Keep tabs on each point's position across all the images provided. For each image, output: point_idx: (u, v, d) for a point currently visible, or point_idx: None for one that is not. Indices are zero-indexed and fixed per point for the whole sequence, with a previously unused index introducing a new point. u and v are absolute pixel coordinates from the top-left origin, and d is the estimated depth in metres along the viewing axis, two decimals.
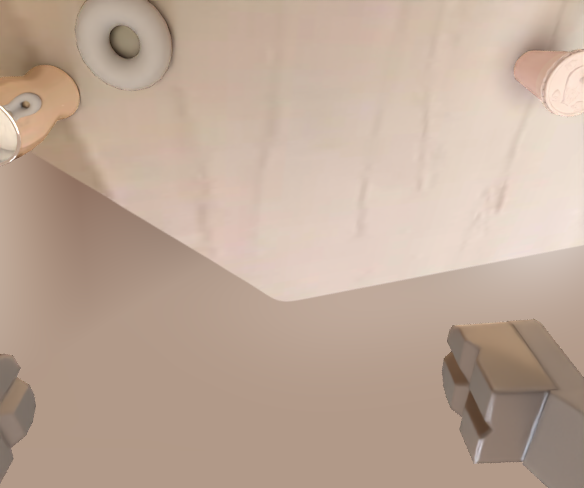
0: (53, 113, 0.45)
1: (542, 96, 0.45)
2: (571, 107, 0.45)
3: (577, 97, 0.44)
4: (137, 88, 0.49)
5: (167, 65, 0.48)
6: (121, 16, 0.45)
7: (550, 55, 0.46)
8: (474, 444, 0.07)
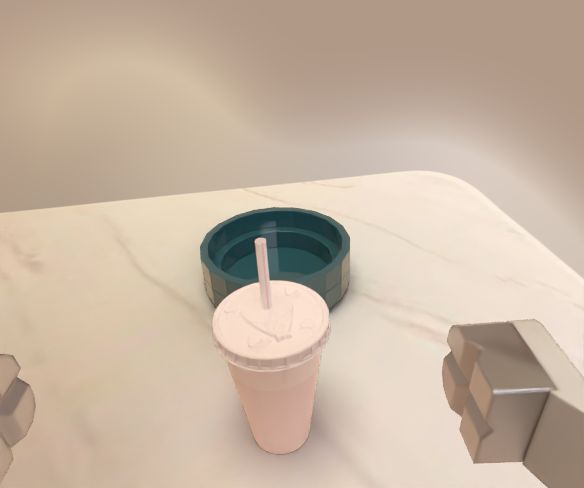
0: None
1: (245, 365, 0.22)
2: (301, 333, 0.22)
3: (292, 320, 0.23)
4: None
5: None
6: None
7: None
8: (474, 444, 0.07)
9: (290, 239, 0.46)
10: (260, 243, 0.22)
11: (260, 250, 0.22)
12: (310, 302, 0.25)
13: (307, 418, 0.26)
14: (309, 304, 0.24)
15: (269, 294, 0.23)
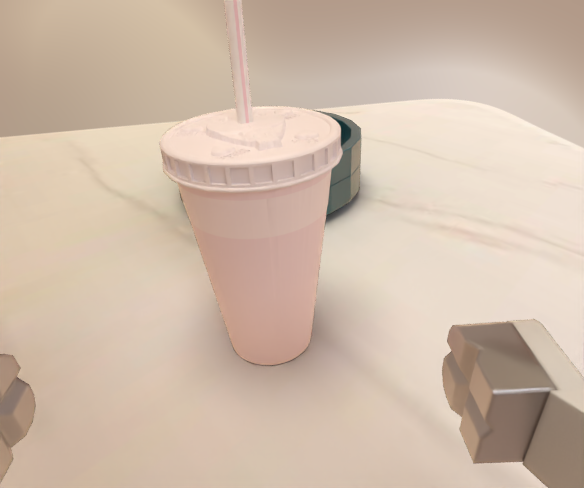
0: None
1: (206, 182, 0.13)
2: (297, 143, 0.14)
3: (282, 132, 0.15)
4: None
5: None
6: None
7: None
8: (474, 444, 0.07)
9: None
10: None
11: (231, 0, 0.14)
12: (311, 120, 0.16)
13: (307, 307, 0.18)
14: (310, 121, 0.16)
15: (248, 95, 0.15)
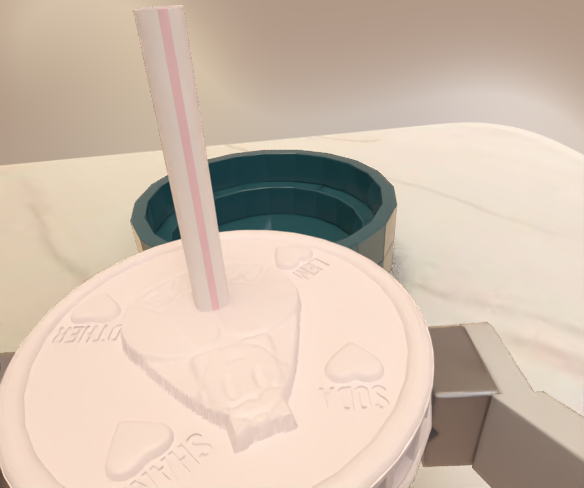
0: None
1: None
2: (335, 409, 0.06)
3: (296, 352, 0.06)
4: None
5: None
6: None
7: None
8: None
9: (291, 200, 0.29)
10: (154, 11, 0.05)
11: (159, 48, 0.05)
12: (355, 288, 0.08)
13: None
14: (352, 294, 0.07)
15: (215, 257, 0.07)
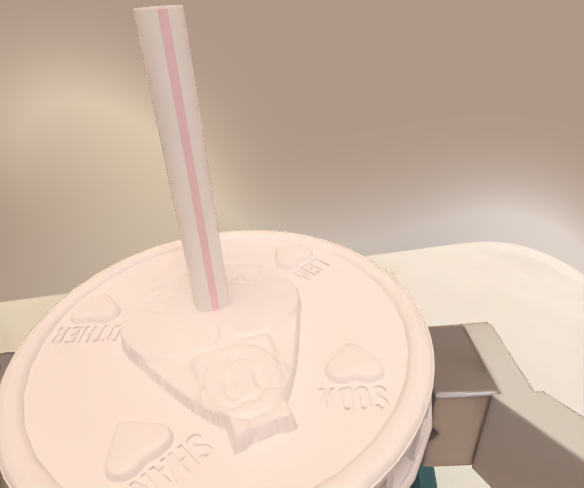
0: None
1: None
2: (336, 410, 0.06)
3: (296, 353, 0.06)
4: None
5: None
6: None
7: None
8: None
9: None
10: (154, 10, 0.05)
11: (159, 48, 0.05)
12: (355, 288, 0.08)
13: None
14: (353, 294, 0.07)
15: (215, 257, 0.07)
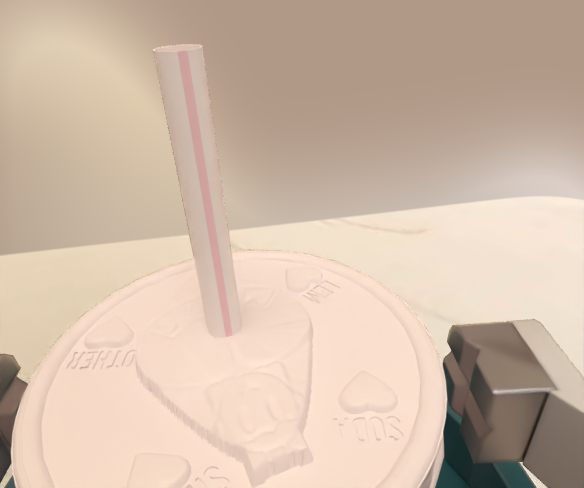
0: None
1: None
2: (351, 442, 0.06)
3: (309, 381, 0.06)
4: None
5: None
6: None
7: None
8: (474, 444, 0.07)
9: None
10: (174, 52, 0.05)
11: (178, 88, 0.05)
12: (366, 312, 0.08)
13: None
14: (364, 319, 0.08)
15: (229, 285, 0.07)
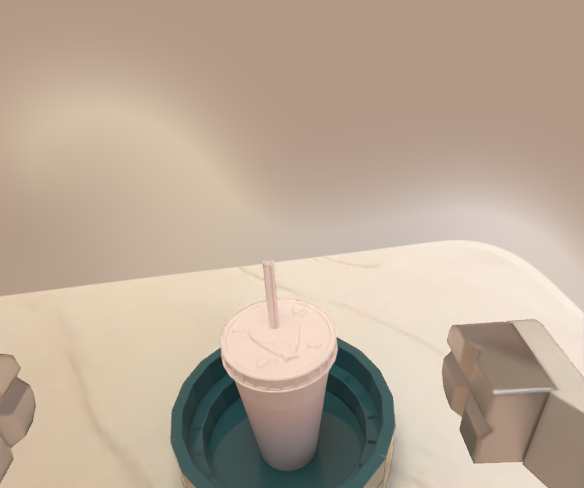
0: None
1: (253, 385, 0.22)
2: (309, 354, 0.23)
3: (299, 340, 0.23)
4: None
5: None
6: None
7: None
8: (474, 444, 0.07)
9: None
10: (268, 265, 0.22)
11: (268, 271, 0.22)
12: (317, 321, 0.25)
13: (314, 435, 0.26)
14: (316, 323, 0.25)
15: (276, 314, 0.24)
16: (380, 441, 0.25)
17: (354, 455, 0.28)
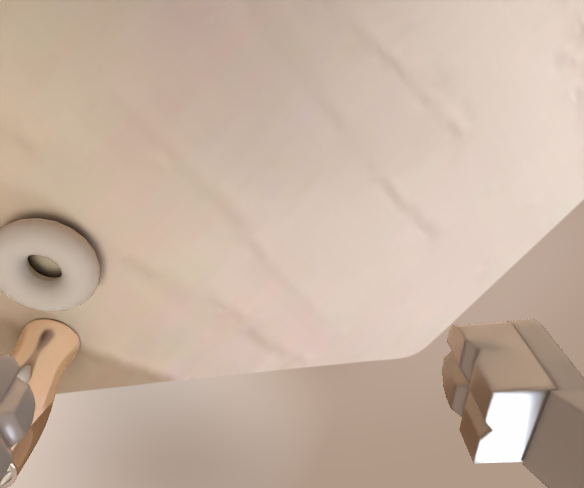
0: (37, 382, 0.41)
1: None
2: None
3: None
4: (88, 294, 0.43)
5: (89, 255, 0.41)
6: (13, 256, 0.39)
7: None
8: (474, 444, 0.07)
9: None
10: None
11: None
12: None
13: None
14: None
15: None
16: None
17: None
